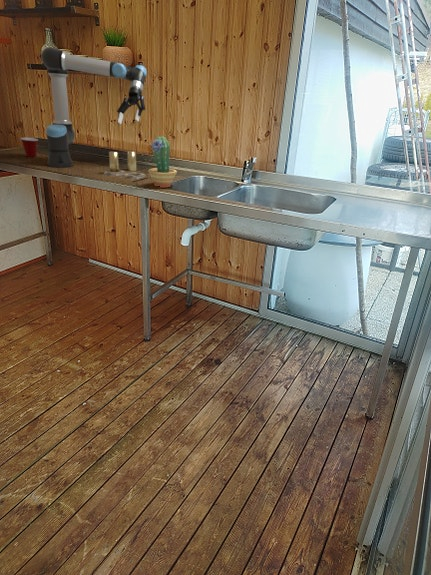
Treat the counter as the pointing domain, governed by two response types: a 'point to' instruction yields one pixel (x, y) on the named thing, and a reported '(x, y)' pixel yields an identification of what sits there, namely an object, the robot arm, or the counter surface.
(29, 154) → the plastic cup
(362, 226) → the counter surface
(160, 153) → the potted cactus
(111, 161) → the cylinder
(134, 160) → the brass billet
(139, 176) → the pallet
